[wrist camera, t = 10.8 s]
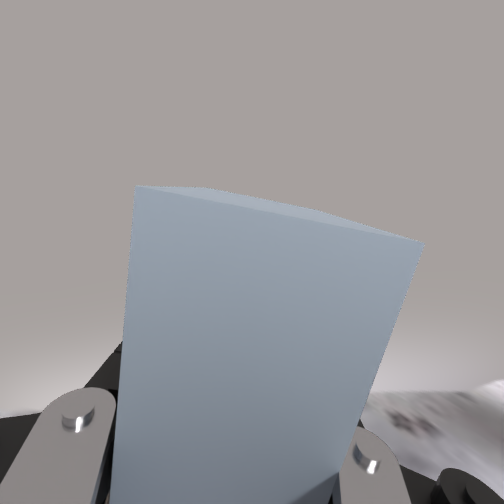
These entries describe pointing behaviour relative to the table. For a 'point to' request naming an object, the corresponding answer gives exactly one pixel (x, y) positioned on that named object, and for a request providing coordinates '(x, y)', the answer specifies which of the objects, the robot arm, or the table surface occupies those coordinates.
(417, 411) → the table surface
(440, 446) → the table surface
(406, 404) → the table surface
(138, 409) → the light blue rectangular block
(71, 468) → the robot arm
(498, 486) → the table surface
